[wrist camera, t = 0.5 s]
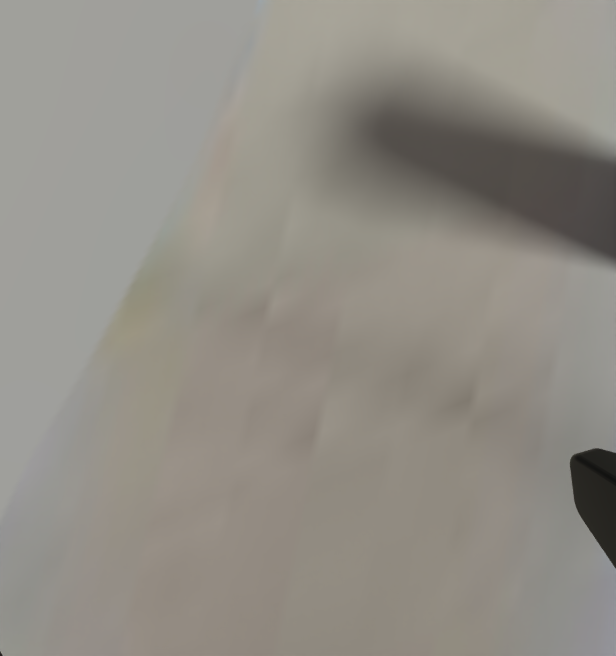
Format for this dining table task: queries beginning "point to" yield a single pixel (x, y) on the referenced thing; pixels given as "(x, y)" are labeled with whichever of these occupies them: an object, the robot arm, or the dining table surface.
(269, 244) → the dining table surface
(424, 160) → the dining table surface
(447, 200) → the dining table surface
